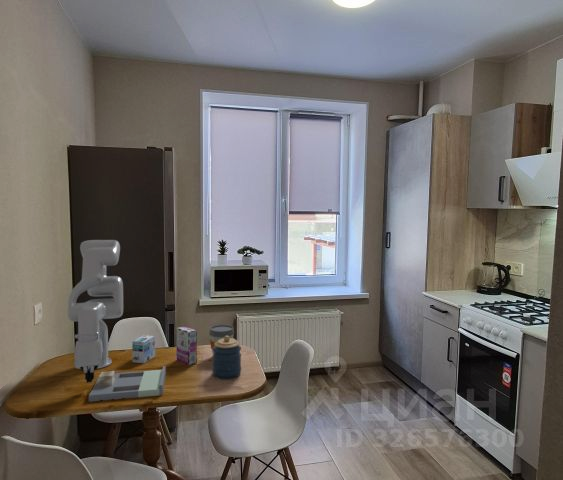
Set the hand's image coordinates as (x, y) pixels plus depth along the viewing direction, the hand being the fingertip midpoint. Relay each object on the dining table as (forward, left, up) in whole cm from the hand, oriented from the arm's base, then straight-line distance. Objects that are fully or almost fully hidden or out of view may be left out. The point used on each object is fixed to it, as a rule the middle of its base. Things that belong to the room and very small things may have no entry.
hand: (89, 381), depth 158 cm
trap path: (+12, +9, -4) cm, 15 cm away
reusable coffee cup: (+27, +56, -4) cm, 62 cm away
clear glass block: (+5, +4, -2) cm, 7 cm away
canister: (+41, +39, -4) cm, 57 cm away
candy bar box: (+15, +43, -4) cm, 46 cm away
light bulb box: (-6, +36, -4) cm, 37 cm away
